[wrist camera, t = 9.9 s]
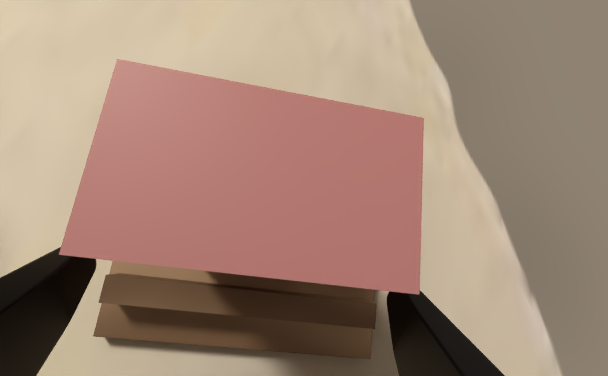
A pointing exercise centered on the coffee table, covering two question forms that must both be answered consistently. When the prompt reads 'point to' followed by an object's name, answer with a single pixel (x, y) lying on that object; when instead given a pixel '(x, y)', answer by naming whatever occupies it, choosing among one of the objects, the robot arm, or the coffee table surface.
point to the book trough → (235, 311)
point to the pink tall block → (250, 183)
